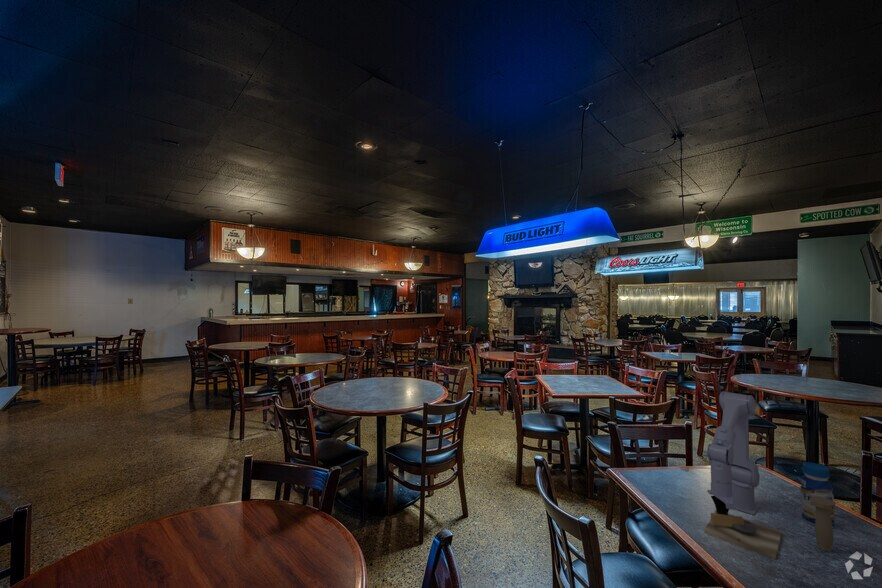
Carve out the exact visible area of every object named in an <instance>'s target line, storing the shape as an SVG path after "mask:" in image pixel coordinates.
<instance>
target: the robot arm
mask: <svg viewBox="0 0 882 588" xmlns="http://www.w3.org/2000/svg"><path fill="white" fill-rule="evenodd" d="M718 401H719V403H718V404H719V406H720V408H721V410H723V411H722V412H723V413H722V419H721V424H720V426H717V427H716V428H715V433H714V435H713V440H712V442H711V443H709V444H708V445H707V451H706V455H707V459H708V465H710V489H707V491H706V492H707V493H708V495H710V498H711V499H712V501H713V503H714V507H715V511H717V514H723V515H728V514H729V511H730V510H737V511H741V512H744V513H747V514H750V515H753V516H755V515H756V512H757V510H758V507H759V505H758V503H756V502H755V488H758V487H759V485H760V481H761V479H760V472H759V467H758V465H757V464H755V462H753V461H752V460H751V459H750V457H749V454H750V452H749V451H750V449H749V448H750V447H749V445H750V444H749V419H750V417H755V414H756V401H755V398H754V396H753V395H750V394H743V393H742V394H741V393H737V392H728V391H725V390H723V391H721V392H720V393H719V398H718Z"/></svg>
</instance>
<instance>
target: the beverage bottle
mask: <svg viewBox="0 0 882 588" xmlns="http://www.w3.org/2000/svg"><path fill="white" fill-rule="evenodd" d="M801 467H802V473H803V474H804V475H802V476H801V479H800V483H801V485H800V488H799V490H800V503H801V517H802V519H803V520H804V521H805V522H806V523H808V524H810V525H813V526H814V527H815V521H816V507H815V506H814V505H812V504H811V498H812V497H823V498H826V499H829V500H832V501H834V500H835V496H834V494H833V491H834V487H833V486H832V483H831V482H830V481H829V480H828V479H830V469H829V467H827V466H825V465H823V464H819V463H815V462H810V461H809V462H808V461H807V462H806V461H804V462H803V463H802V465H801ZM831 521H832V529H834V527H835V510H831Z"/></svg>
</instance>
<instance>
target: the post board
mask: <svg viewBox="0 0 882 588" xmlns="http://www.w3.org/2000/svg"><path fill="white" fill-rule="evenodd" d="M714 513H717V511H716V510H715V511H714ZM728 515H732V516H735V515H733V514H731V513H728ZM743 519H744V520H746V521H749V522H751V523H752V524H754V525H755V526H756V533H745V532H742V531H739V530H737V529H735V528H733V527H731V526H723V525H716V524H713V523H712V522H711V518H710V519H709V521H708V523H707V525H706V526H705V528H704V534H706V535H708V536H711V537H714V538H717V539H719V540H722V541H725V542H728V543H730V544H733V545H736V546H738V547H741V548H743V549H745V550H749V551H751V552H754V553H757V554H759V555H762V556H765V557H768V558H771V559H773V560H776V561H777V556H778V553H779V548H780V544H781V539H782V535H783V532H782V530H779V529H776V528H774V527H770V526H767V525H763V524H761V523H758V522H755V521H751V520H749V519H747V518H746V519H745V518H743Z"/></svg>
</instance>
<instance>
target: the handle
mask: <svg viewBox="0 0 882 588" xmlns="http://www.w3.org/2000/svg"><path fill="white" fill-rule="evenodd" d="M811 504H812V505H814V506H815V507H816V521H815V526H814V529H815V538H816V542H817V547H818V548H819V549H820V550H823V552H829V553H831V552H832V551H833V544H834V533H833V532H834V531H833V529H834V528H832V521H831V510H834V509H836V501H834V500H833V501H832V500H829V499H826V498H823V497H812V498H811ZM834 511H835V510H834Z"/></svg>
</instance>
